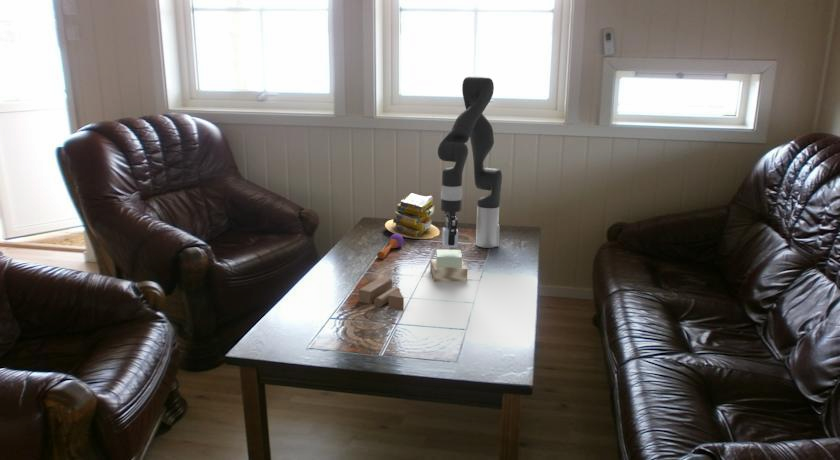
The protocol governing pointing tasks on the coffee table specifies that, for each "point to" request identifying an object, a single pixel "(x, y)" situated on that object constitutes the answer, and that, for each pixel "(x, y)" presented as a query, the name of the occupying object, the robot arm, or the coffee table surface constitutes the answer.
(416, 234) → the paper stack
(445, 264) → the tower top
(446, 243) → the blue block
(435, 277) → the tower base
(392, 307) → the wooden block set
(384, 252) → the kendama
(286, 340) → the coffee table surface
